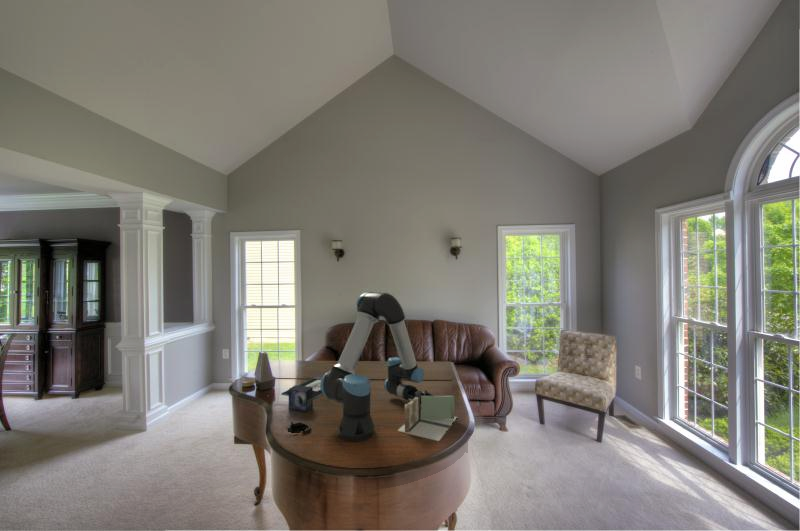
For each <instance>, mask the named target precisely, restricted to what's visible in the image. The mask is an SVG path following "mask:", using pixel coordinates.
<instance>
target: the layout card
mask: <svg viewBox="0 0 800 531" xmlns="http://www.w3.org/2000/svg"><path fill="white" fill-rule="evenodd" d="M420 416H421V409H420ZM456 418H458V416H455V415H454V419H421V420H420V421H417V422H416V423H415V424H414V425H413V426H412V427H411V428H410V429H409V432H405V423H404V424H403V425H402V426H400V427H399V428H398V429H397V432H399V433H403V434H407V435H411V436H416V437H419V438H424V439H427V440H432V441H436V442H440V441H441V440H442V438H443V437H444V436H445V435H446V433H447V432H446V431H448V430H450V428H451V427H452V425H453V424H452V423H453V422H454V423H455V422H456V420H457V419H456ZM450 426H451V427H450Z"/></svg>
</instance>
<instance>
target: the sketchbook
mask: <svg viewBox="0 0 800 531" xmlns="http://www.w3.org/2000/svg"><path fill="white" fill-rule="evenodd" d="M321 379H322V377H318V376H315V377H313V378H311V379H308V380H307V381H305V382H302V383H300V384H298V385H299V386H307V387H313V400H315V399H316V398H319V397H321V396H322V395H323V393H322V392H321V388H320V383H321ZM280 395H282V396H283V395H284V396H287V397H289V389H287V390H285V391H283V392H281V394H280Z"/></svg>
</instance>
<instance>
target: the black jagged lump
mask: <svg viewBox="0 0 800 531" xmlns="http://www.w3.org/2000/svg"><path fill="white" fill-rule="evenodd" d="M308 426H309V425H307V424H305V423H302V422H300V421H299V422H296V423H294V422H293V420H292V421H290V426H289V427H290V428H288V427H287V428H288V429H287V430H288V432H291V433H300V432H301V431H303V432H301V433H302V434H304V435H307V434H306V433H308V434H309V433H310V431H311V432H312V427H308ZM307 427H308V428H307ZM306 428H307V429H306ZM305 429H306V430H305ZM301 433H300V434H301ZM302 434H301V435H302Z"/></svg>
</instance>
